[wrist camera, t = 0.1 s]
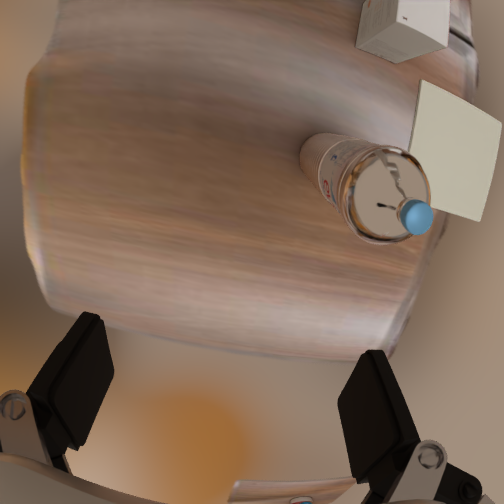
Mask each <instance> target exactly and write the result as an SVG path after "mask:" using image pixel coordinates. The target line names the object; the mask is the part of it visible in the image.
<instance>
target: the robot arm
mask: <svg viewBox="0 0 504 504" xmlns="http://www.w3.org/2000/svg"><path fill="white" fill-rule="evenodd" d="M113 376H114V366H113V362H112V358H111V354H110V350H109V345H108V340H107V335H106V330H105V325H104V321H103V320H102V319H100V316H99V315H97V314H93V313H89V312H83V313H82V314H81V315H80V316H79V318H78V319H77V321H76V322H75V323H74V325H73V326H72V327H71V329H70V330H69V332H68V333H67V335H66V336H65V337H64V339H63V340H62V341H61V342H60V343H59V344H58V345H57V346H56V348H55V349H54V350H53V352H52V353H51V355H50V356H49V358H48V360H47V361H46V362H45V364H44V365H43V367H42V368H41V370H40V371H39V373H38V374H37V376H36V378H35V379H34V381H33V382H32V384H31V385H30V387H29V389H28V390H27V392H26V394H25V393H24V392H22V391H19V390H9V391H7V392H5V393H3V394H2V395H1V396H0V504H165V503H161V502H157V501H152V500H148V499H144V498H140V497H136V496H133V495H129V494H125V493H122V492H118V491H116V490H113V489H109V488H106V487H103V486H100V485H98V484H95V483H92V482H89V481H86V480H84V479H81V478H79V477H76V476H73V474H72V472H71V469H70V467H69V464H68V462H67V459H66V457H65V452H66V450H67V447H69V448H71V449H74V450H76V451H78V449H79V447H80V446H83V445H84V444H85V442H86V440H87V437H88V435H89V432H90V430H91V427H92V425H93V423H94V420H95V418H96V415H97V413H98V411H99V408H100V406H101V404H102V401H103V399H104V397H105V395H106V392H107V390H108V388H109V386H110V383H111V381H112V379H113ZM338 410H339V414H340V419H341V424H342V428H343V433H344V438H345V443H346V447H347V453H348V458H349V463H350V468H351V473H352V476H353V478H356V481H357V484H361V483H368V482H369V486H370V490H369V492H368V493H367V495H366V496H365V498H364V500H363V501H362V502H361V504H495V503H494V502H493V501H492V500H491V499H490V498H489V497H488V496H487V495H486V494H485V495H483V496H482V486H481V483H480V482H479V480H478V479H477V478H476V477H474V476H472V475H470V474H468V473H466V472H464V471H462V470H461V469H459V468H457V467H455V466H453V465H451V464H449V463H448V462H447V453H446V451H445V449H444V447H443V446H442V445H441V444H439V443H438V442H437V441H433V440H424V441H422V442H421V440H420V438H419V435H418V432H417V430H416V427H415V424H414V422H413V419H412V417H411V414H410V412H409V409H408V406H407V404H406V402H405V399H404V397H403V394H402V392H401V389H400V387H399V385H398V383H397V381H396V378H395V376H394V373H393V371H392V369H391V366H390V364H389V362H388V360H387V357H386V355H385V353H384V351H383V350H367V351H366V352H365V353H363V354H362V355H361V356H360V358H359V360H358V362H357V364H356V366H355V368H354V370H353V372H352V374H351V376H350V378H349V379H348V381H347V383H346V385H345V387H344V389H343V390H342V392H341V394H340V396H339V398H338Z"/></svg>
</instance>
